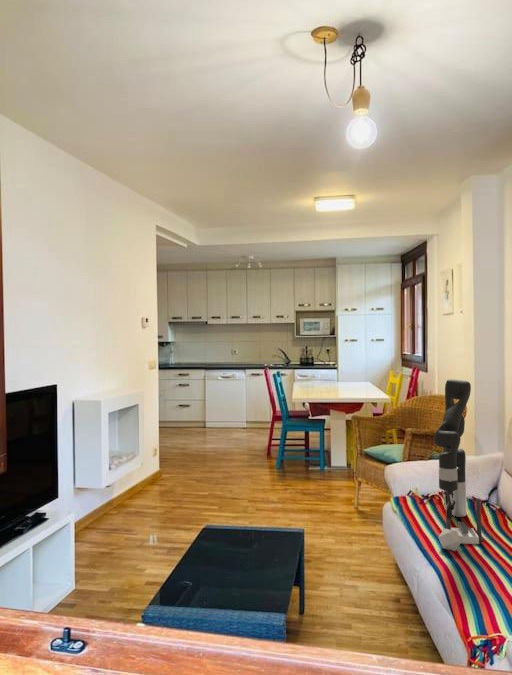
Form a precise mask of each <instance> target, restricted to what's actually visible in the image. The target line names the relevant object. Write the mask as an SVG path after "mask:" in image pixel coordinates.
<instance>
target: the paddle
mask: <svg viewBox="0 0 512 675" xmlns="http://www.w3.org/2000/svg"><path fill="white" fill-rule="evenodd" d="M468 528H469V526H466V527H462V534H469V532H468Z"/></svg>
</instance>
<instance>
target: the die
mask: <svg viewBox="0 0 512 675" xmlns="http://www.w3.org/2000/svg"><path fill="white" fill-rule="evenodd" d="M437 538H438V539H439V542H440V545H441V547H442V549H445V550H449V551H451V552H452V551H453V552H456V551H457V549H458V548H459V546H461V544H462V543H461V540H460V538H459V535H458V533H457V531H455V530H450V529H446V528H445V527H444V528H443V530H442V532H441V533H440V534H439V536H438V537H437Z"/></svg>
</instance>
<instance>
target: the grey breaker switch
mask: <svg viewBox="0 0 512 675" xmlns="http://www.w3.org/2000/svg"><path fill="white" fill-rule="evenodd" d="M457 523H458V528H460V524H465V521H458V522H457Z"/></svg>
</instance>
